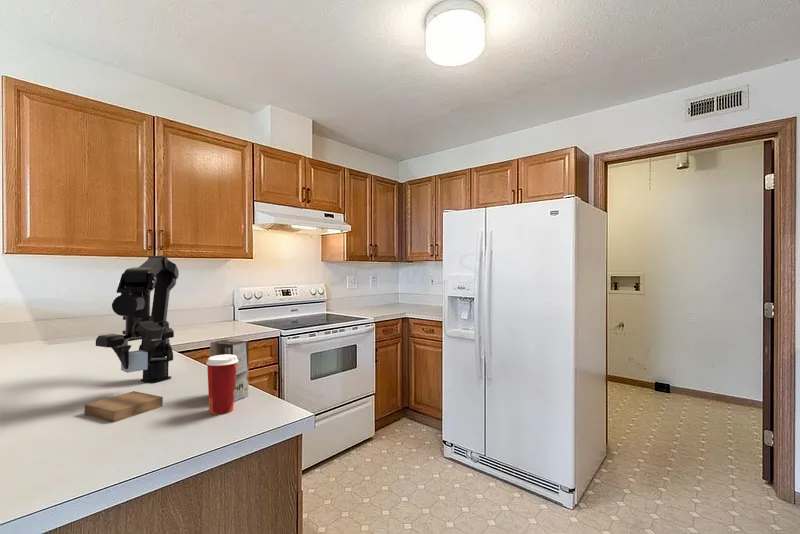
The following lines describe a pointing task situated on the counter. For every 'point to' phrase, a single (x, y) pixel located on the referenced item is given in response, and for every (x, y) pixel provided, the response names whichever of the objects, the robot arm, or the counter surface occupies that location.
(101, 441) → the counter surface
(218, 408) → the paper cup
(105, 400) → the base
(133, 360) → the block
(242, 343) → the coffee box
